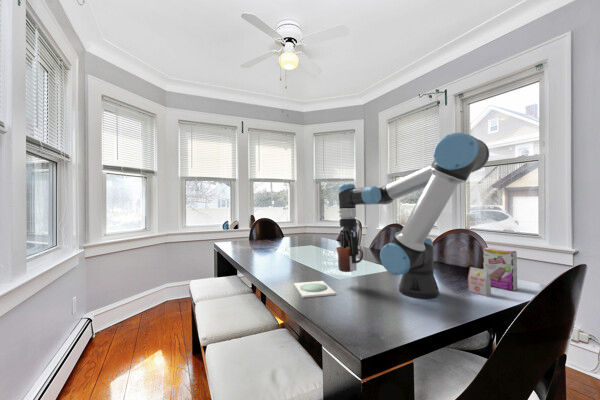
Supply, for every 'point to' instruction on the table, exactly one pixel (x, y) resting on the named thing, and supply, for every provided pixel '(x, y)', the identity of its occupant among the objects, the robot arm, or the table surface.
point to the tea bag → (479, 281)
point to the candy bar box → (501, 267)
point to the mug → (345, 258)
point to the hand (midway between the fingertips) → (349, 268)
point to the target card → (314, 289)
